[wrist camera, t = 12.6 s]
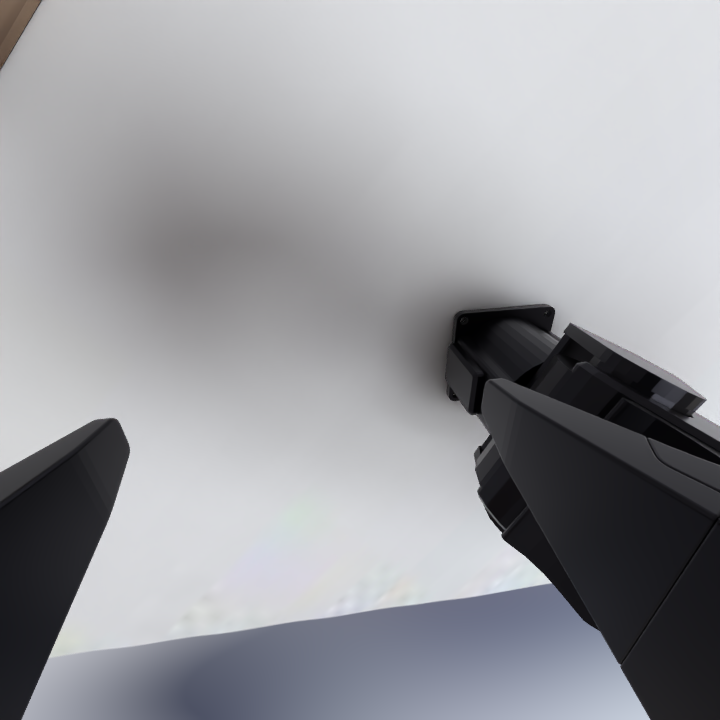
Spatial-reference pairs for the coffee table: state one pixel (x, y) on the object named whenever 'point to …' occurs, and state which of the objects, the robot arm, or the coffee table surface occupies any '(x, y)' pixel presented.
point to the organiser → (13, 23)
